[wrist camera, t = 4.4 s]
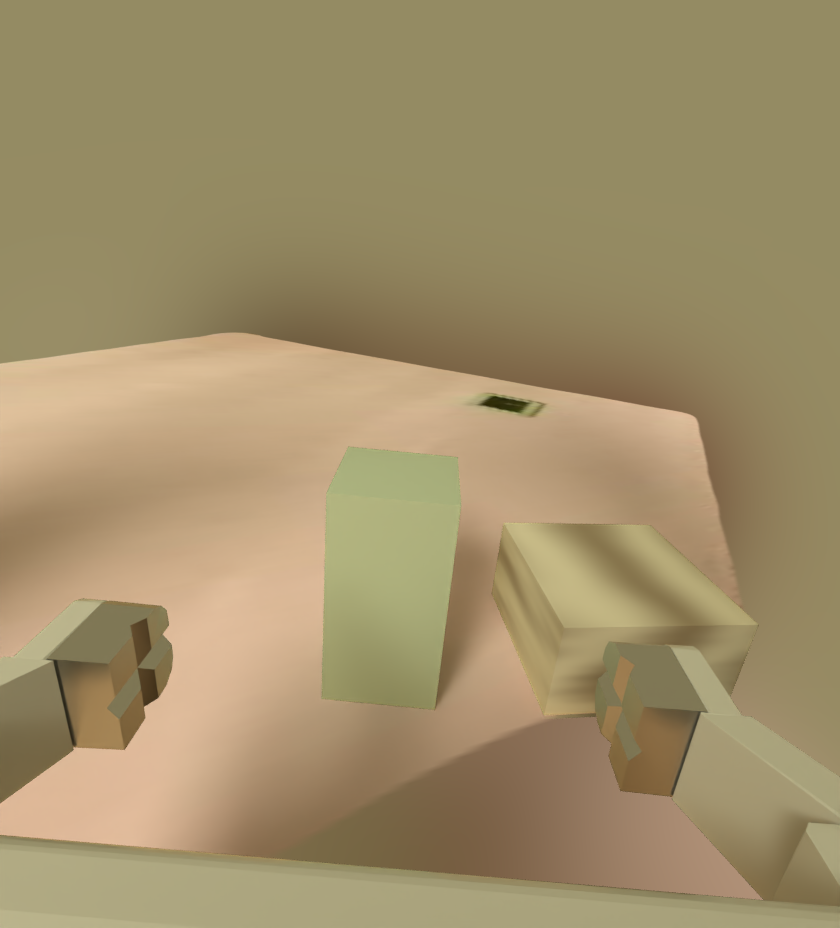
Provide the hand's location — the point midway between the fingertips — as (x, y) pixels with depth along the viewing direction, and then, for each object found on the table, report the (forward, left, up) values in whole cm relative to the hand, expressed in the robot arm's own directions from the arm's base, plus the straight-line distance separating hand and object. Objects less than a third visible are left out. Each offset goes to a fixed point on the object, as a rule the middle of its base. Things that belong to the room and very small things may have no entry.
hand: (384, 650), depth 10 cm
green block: (-1, +12, -12) cm, 17 cm away
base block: (+10, +15, -12) cm, 22 cm away
